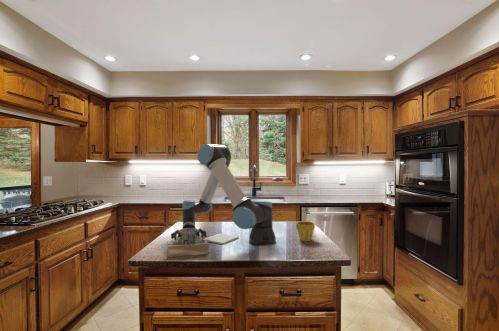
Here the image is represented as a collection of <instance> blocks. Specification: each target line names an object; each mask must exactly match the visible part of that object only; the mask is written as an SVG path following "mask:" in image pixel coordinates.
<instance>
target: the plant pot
mask: <svg viewBox="0 0 499 331" xmlns="http://www.w3.org/2000/svg"><path fill="white" fill-rule="evenodd" d="M295 227H296V228H295V229H297V234H298V239H299V241H301V242H310V241H312V239H313V238H312V237H313V232H314V230H315V222H313V221H309V220H308V221H305V220H304V221H303V220H301V221H297V222H296V223H295Z"/></svg>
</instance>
